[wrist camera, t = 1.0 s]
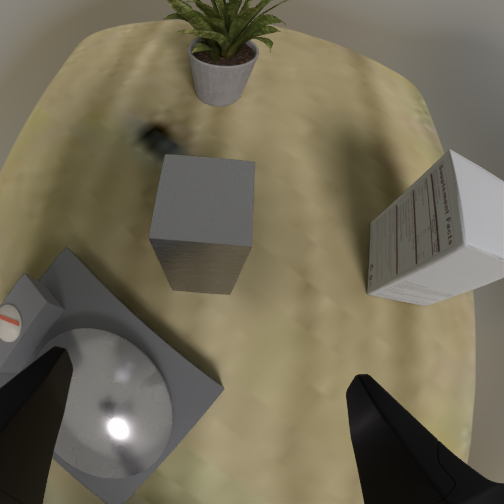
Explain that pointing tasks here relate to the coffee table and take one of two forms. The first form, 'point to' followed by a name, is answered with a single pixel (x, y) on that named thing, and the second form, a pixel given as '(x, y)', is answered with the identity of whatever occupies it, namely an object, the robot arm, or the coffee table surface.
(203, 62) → the house plant
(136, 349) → the scale pan
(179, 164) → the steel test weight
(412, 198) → the supplement box
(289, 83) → the coffee table surface
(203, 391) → the scale base
